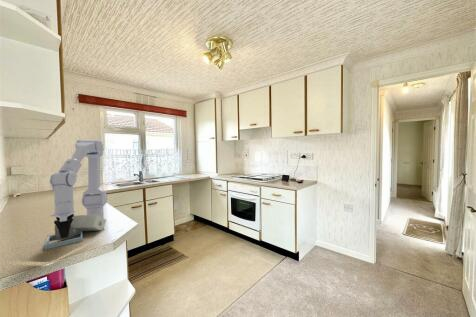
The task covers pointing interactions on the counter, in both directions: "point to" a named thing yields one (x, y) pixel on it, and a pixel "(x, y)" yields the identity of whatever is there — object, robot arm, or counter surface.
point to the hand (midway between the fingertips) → (65, 234)
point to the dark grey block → (57, 237)
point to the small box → (88, 222)
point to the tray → (63, 241)
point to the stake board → (52, 233)
